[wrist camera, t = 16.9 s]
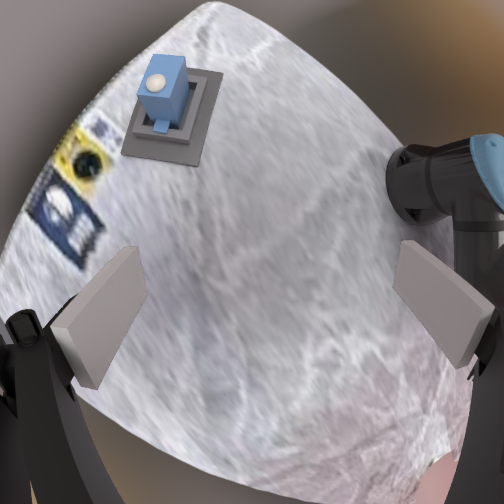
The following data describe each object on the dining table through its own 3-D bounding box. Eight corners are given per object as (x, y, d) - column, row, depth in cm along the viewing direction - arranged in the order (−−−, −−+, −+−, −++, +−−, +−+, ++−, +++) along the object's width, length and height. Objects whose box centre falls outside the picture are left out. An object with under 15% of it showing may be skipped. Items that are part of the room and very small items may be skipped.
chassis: (152, 67, 36) (149, 56, 32) (223, 76, 38) (224, 65, 34) (122, 154, 37) (115, 149, 33) (197, 166, 39) (196, 161, 35)
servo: (168, 82, 35) (157, 39, 24) (193, 85, 36) (189, 42, 25) (150, 136, 36) (129, 105, 25) (176, 140, 37) (163, 109, 25)
